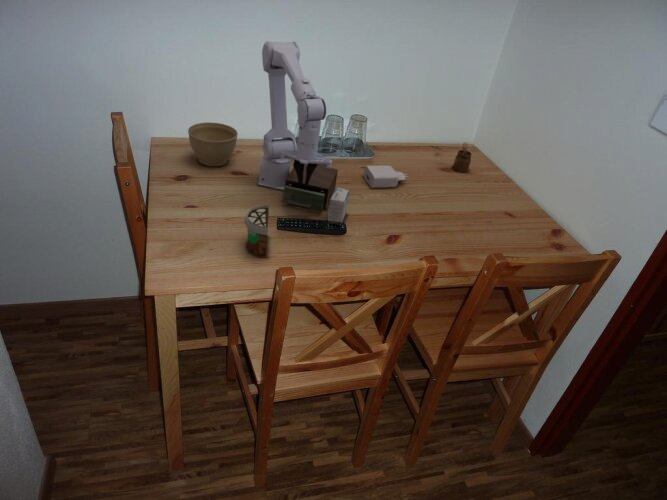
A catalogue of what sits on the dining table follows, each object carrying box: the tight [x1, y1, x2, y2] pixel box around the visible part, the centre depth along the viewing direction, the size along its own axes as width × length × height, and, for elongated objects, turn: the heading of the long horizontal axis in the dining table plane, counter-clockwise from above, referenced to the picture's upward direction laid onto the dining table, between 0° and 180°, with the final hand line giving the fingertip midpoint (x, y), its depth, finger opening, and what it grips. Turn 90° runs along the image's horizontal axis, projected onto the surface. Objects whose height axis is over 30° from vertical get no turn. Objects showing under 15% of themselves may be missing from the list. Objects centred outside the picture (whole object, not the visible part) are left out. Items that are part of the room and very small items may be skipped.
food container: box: [244, 204, 270, 258], centre depth 135 cm, size 12×6×10 cm, turn 5°
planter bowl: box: [187, 122, 238, 167], centre depth 173 cm, size 16×16×11 cm
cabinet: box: [285, 163, 339, 211], centre depth 163 cm, size 15×14×8 cm
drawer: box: [282, 183, 326, 213], centre depth 158 cm, size 19×12×6 cm, turn 168°
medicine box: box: [327, 187, 350, 224], centre depth 153 cm, size 8×4×9 cm, turn 168°
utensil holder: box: [452, 141, 472, 173], centre depth 194 cm, size 6×6×12 cm
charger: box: [363, 165, 410, 189], centre depth 179 cm, size 5×9×15 cm
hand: (303, 184), depth 149 cm, fingers closed
